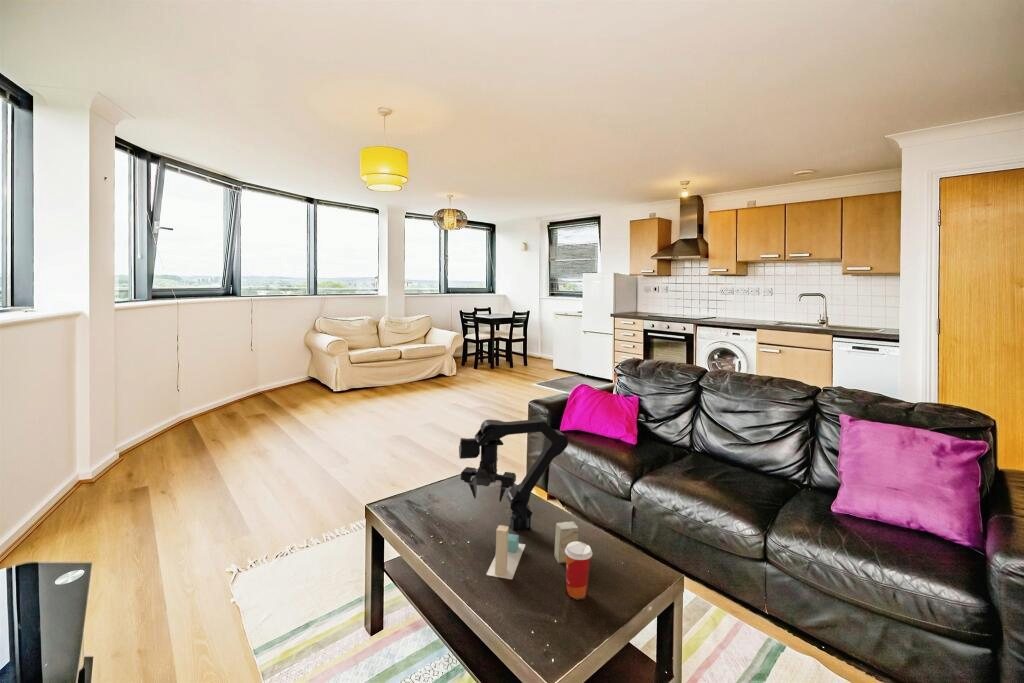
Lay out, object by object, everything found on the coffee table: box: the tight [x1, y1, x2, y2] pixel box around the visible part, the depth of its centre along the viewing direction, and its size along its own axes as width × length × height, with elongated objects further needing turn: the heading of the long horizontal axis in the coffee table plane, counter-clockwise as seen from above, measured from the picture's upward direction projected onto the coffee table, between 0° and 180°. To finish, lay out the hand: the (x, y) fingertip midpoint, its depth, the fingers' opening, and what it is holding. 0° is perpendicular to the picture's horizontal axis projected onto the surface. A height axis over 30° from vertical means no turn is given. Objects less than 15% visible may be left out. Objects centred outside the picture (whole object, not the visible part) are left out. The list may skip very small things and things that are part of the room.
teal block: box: [508, 533, 520, 553], centre depth 153 cm, size 4×4×4 cm
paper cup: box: [565, 541, 593, 598], centre depth 133 cm, size 8×8×14 cm
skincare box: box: [553, 520, 579, 564], centre depth 149 cm, size 6×4×12 cm
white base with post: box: [485, 524, 526, 580], centre depth 147 cm, size 20×8×15 cm, turn 167°
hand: (487, 499), depth 164 cm, fingers open, 9 cm apart
